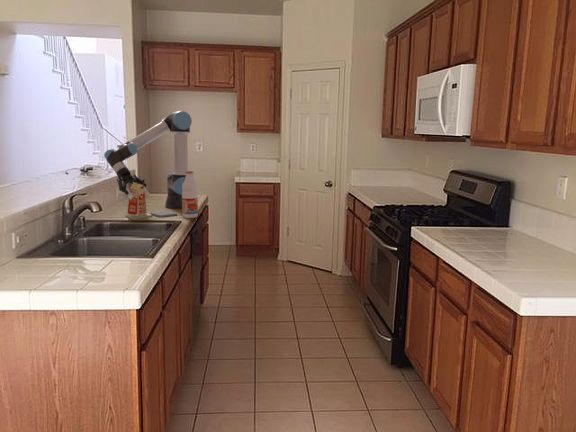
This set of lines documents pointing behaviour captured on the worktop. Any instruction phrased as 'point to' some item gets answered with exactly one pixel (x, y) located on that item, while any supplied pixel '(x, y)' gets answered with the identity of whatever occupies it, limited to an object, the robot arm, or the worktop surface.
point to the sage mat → (139, 216)
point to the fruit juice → (189, 196)
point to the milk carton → (137, 201)
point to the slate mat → (163, 214)
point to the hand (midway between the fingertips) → (140, 197)
